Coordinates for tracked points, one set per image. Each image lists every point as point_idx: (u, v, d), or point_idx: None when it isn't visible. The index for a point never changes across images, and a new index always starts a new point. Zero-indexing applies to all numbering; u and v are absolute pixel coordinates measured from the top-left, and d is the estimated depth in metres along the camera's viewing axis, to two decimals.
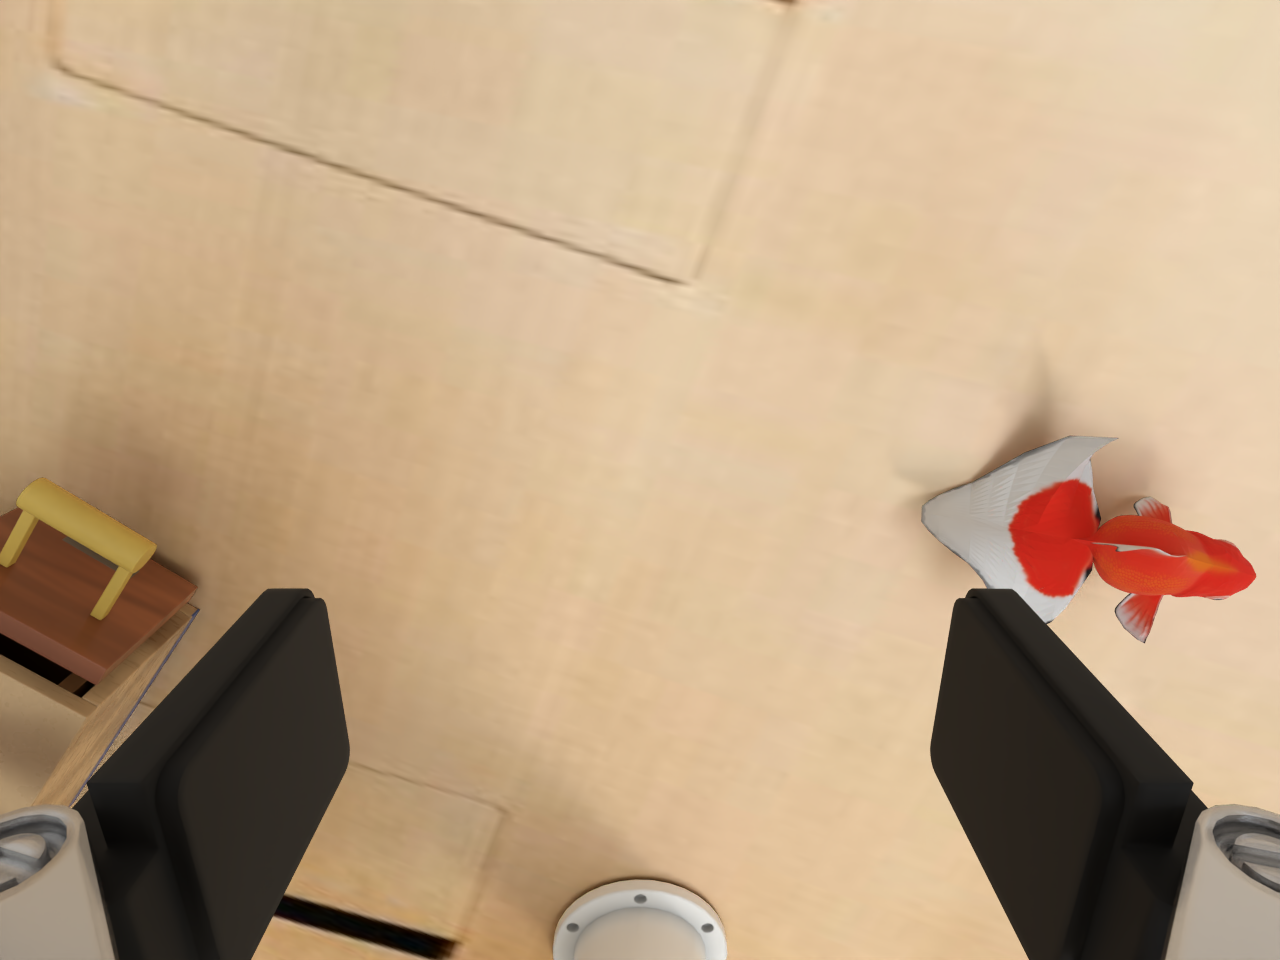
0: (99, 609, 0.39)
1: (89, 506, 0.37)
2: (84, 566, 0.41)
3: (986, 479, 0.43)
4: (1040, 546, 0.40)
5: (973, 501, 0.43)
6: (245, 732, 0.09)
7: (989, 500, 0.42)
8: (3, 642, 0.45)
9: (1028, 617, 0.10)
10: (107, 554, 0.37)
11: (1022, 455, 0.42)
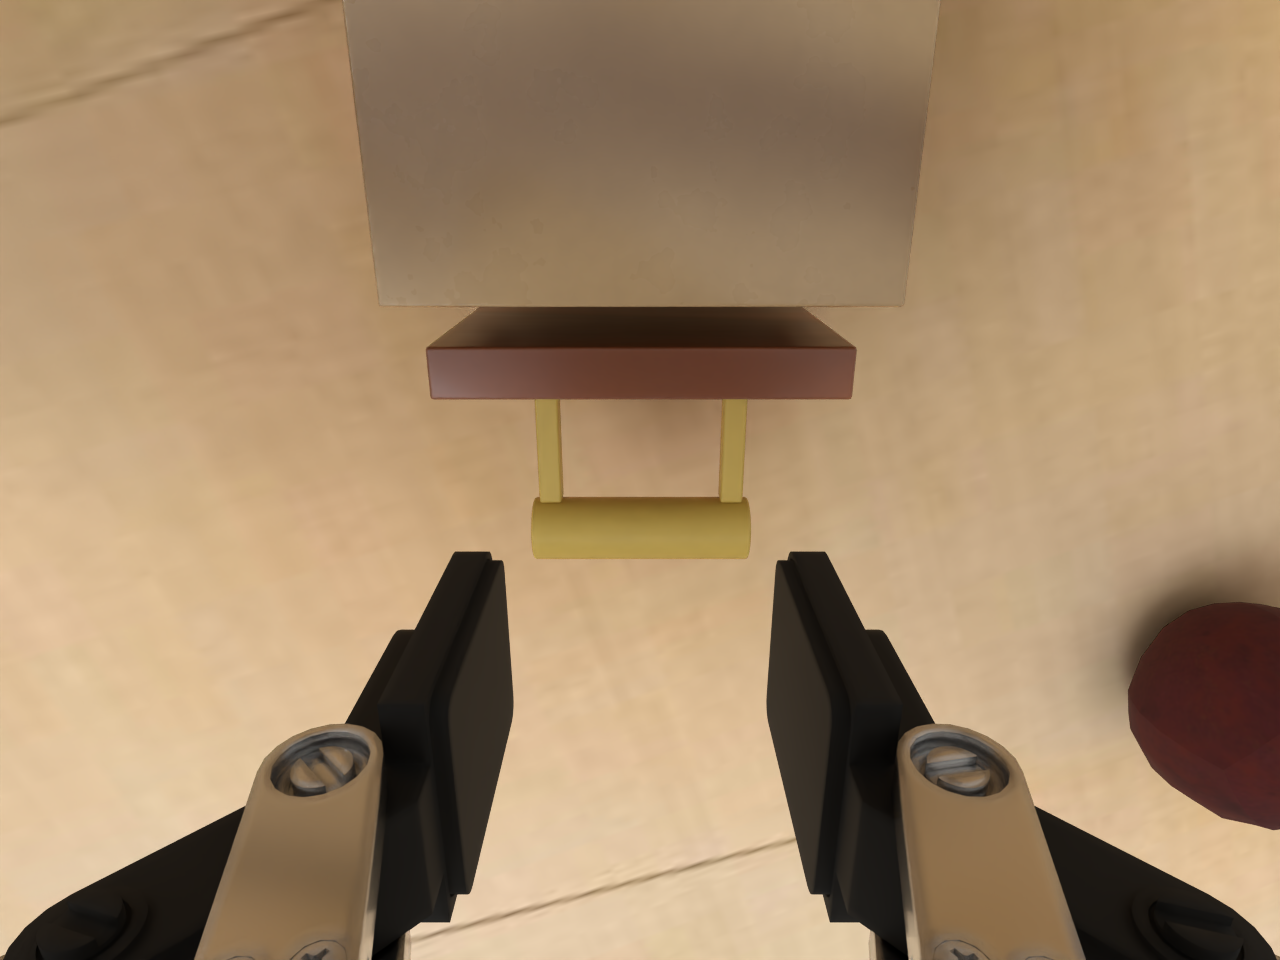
0: (546, 398, 0.20)
1: None
2: None
3: None
4: None
5: None
6: (473, 671, 0.10)
7: None
8: None
9: (826, 574, 0.11)
10: (580, 536, 0.21)
11: None
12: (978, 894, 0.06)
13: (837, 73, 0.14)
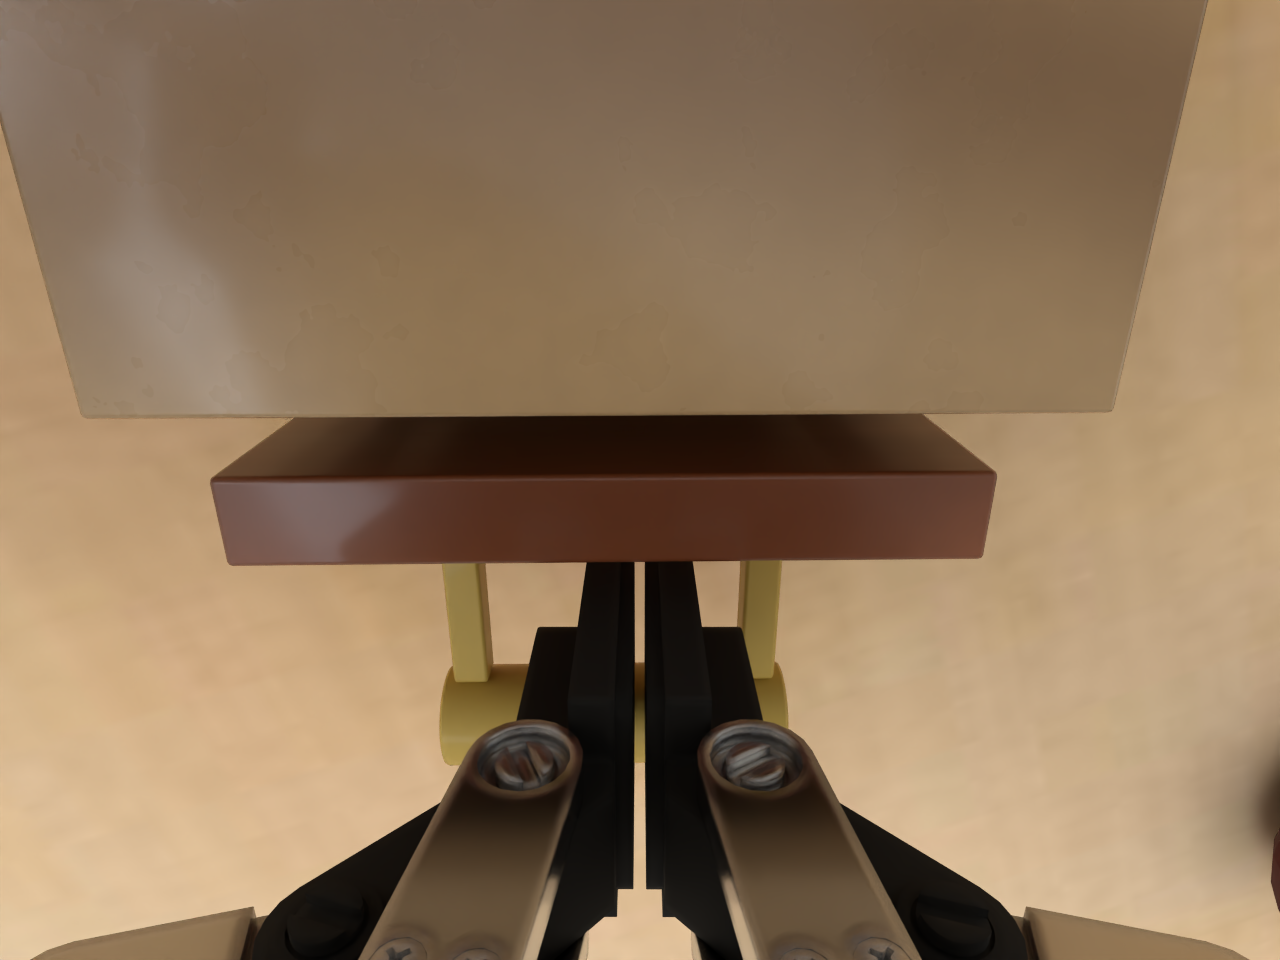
0: None
1: None
2: None
3: None
4: None
5: None
6: None
7: None
8: None
9: (683, 572, 0.11)
10: None
11: None
12: (803, 893, 0.06)
13: None
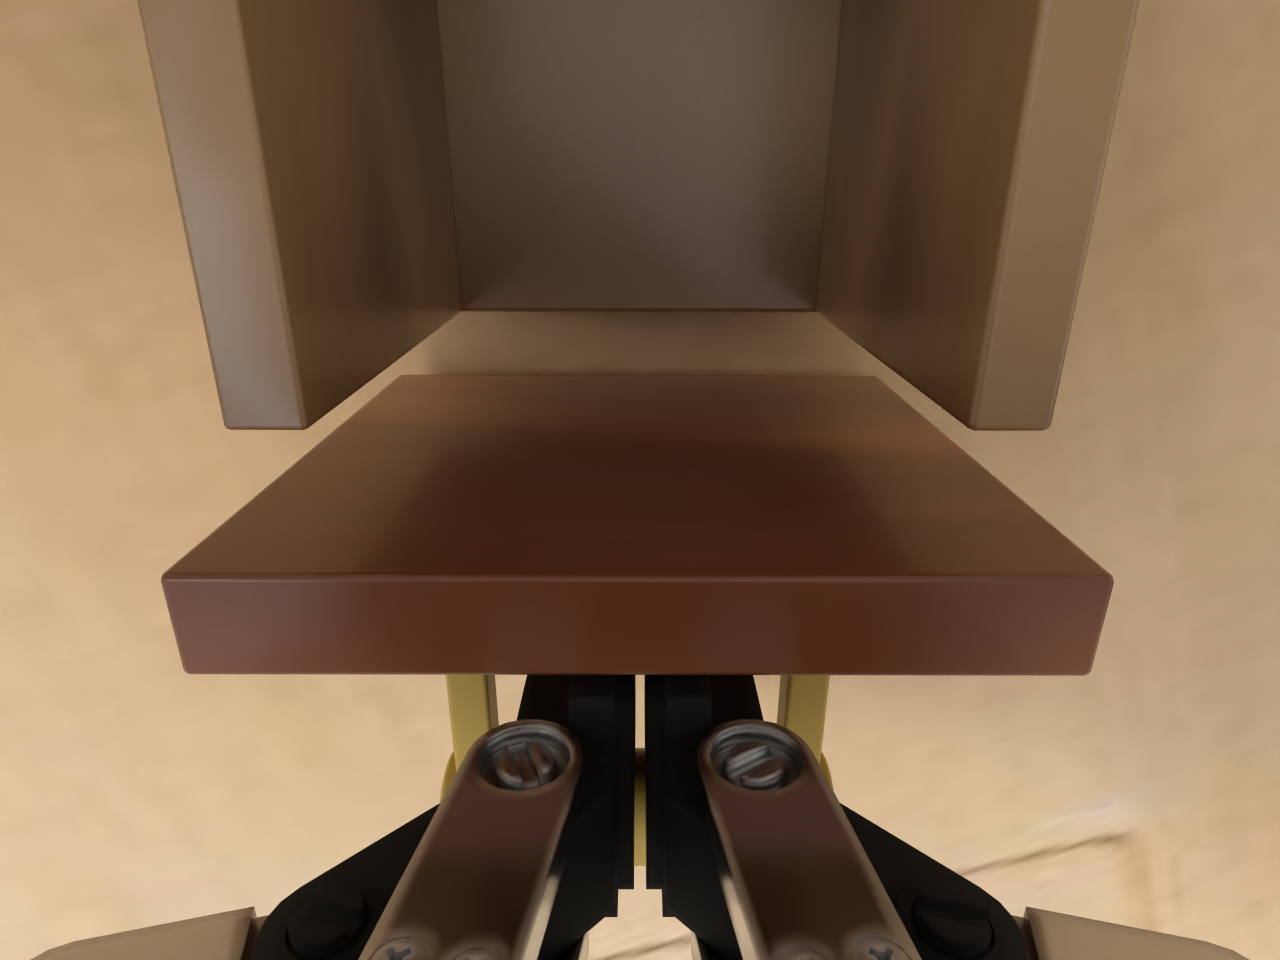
0: None
1: None
2: None
3: None
4: None
5: None
6: None
7: None
8: None
9: None
10: None
11: None
12: (801, 893, 0.06)
13: None
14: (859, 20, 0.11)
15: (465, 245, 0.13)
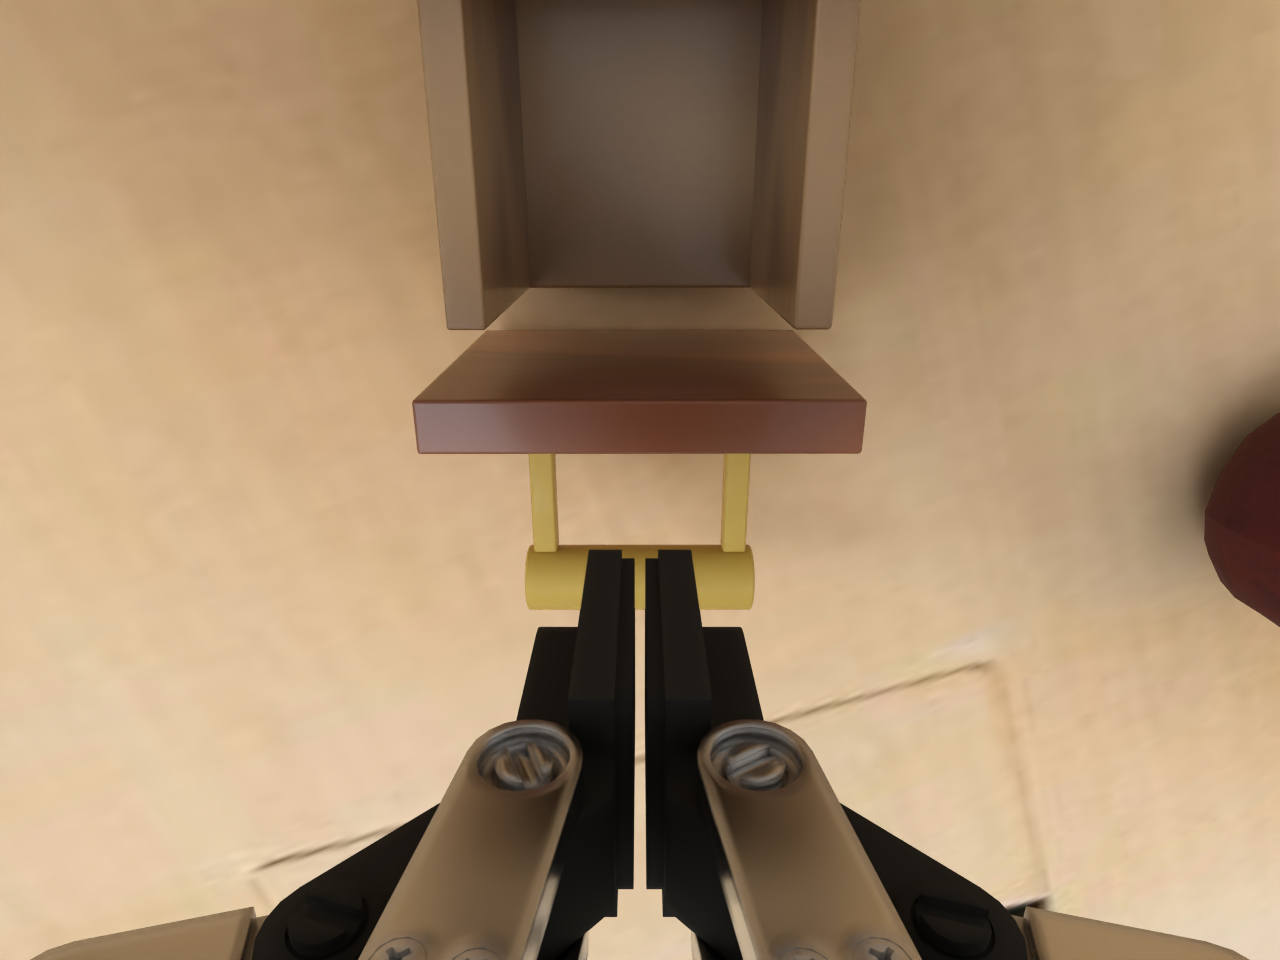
0: None
1: None
2: None
3: None
4: None
5: None
6: (634, 668, 0.10)
7: None
8: (731, 16, 0.20)
9: (683, 572, 0.11)
10: (576, 588, 0.20)
11: None
12: (803, 893, 0.06)
13: None
14: (763, 118, 0.19)
15: (533, 246, 0.22)
